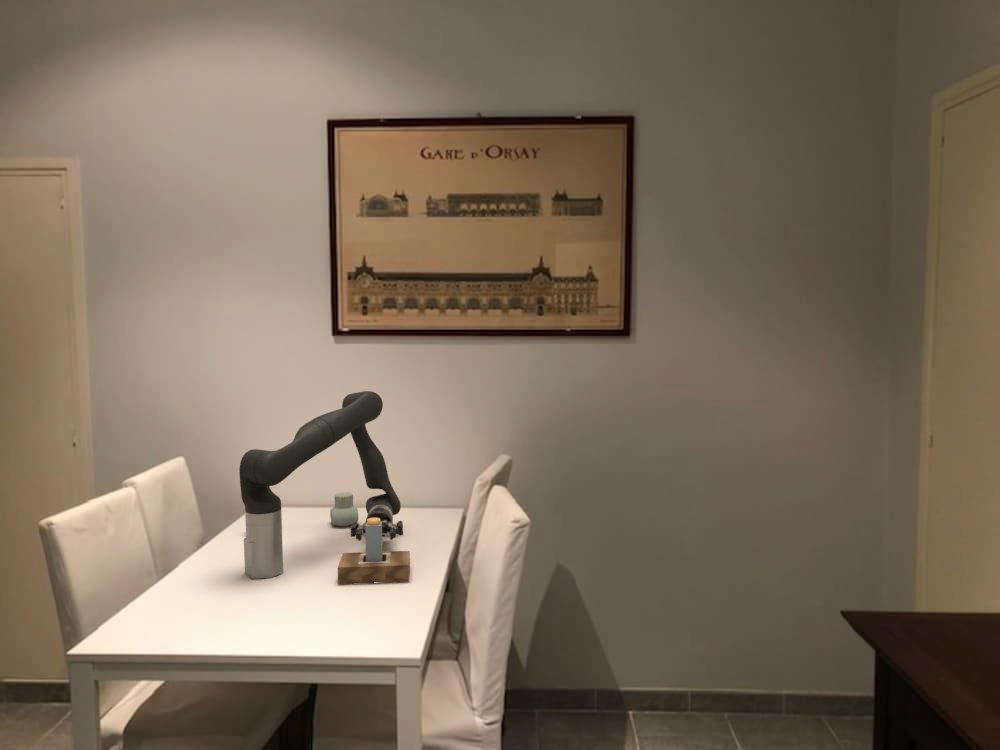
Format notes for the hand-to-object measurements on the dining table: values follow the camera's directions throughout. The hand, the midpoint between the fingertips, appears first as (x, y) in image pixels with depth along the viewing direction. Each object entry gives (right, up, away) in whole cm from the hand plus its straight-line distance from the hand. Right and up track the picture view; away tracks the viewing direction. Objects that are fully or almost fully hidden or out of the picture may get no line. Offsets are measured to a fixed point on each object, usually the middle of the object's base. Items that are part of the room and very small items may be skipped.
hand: (375, 536), depth 215 cm
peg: (0, -10, -3) cm, 10 cm away
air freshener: (-17, -6, +46) cm, 50 cm away
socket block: (0, -10, -3) cm, 10 cm away
